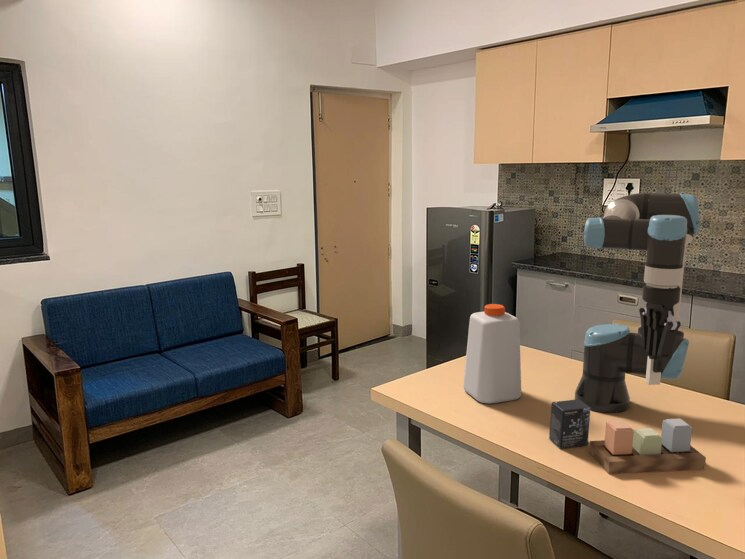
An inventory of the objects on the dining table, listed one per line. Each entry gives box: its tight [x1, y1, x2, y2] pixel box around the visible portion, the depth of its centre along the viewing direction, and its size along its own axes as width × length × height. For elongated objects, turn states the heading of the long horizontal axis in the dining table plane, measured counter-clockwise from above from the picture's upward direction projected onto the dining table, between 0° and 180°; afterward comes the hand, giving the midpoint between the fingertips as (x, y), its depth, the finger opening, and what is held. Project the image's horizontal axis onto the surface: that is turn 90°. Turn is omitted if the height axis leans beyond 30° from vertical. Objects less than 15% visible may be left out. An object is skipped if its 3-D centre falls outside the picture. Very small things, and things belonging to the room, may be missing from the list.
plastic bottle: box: [462, 303, 522, 405], centre depth 175 cm, size 15×15×28 cm
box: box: [548, 398, 591, 450], centre depth 145 cm, size 8×6×11 cm
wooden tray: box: [589, 439, 707, 475], centre depth 137 cm, size 23×10×3 cm, turn 94°
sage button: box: [632, 427, 662, 455], centre depth 137 cm, size 4×4×6 cm
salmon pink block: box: [604, 420, 634, 455], centre depth 136 cm, size 4×4×6 cm
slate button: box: [660, 418, 693, 452], centre depth 137 cm, size 4×4×6 cm
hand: (652, 383), depth 134 cm, fingers closed
